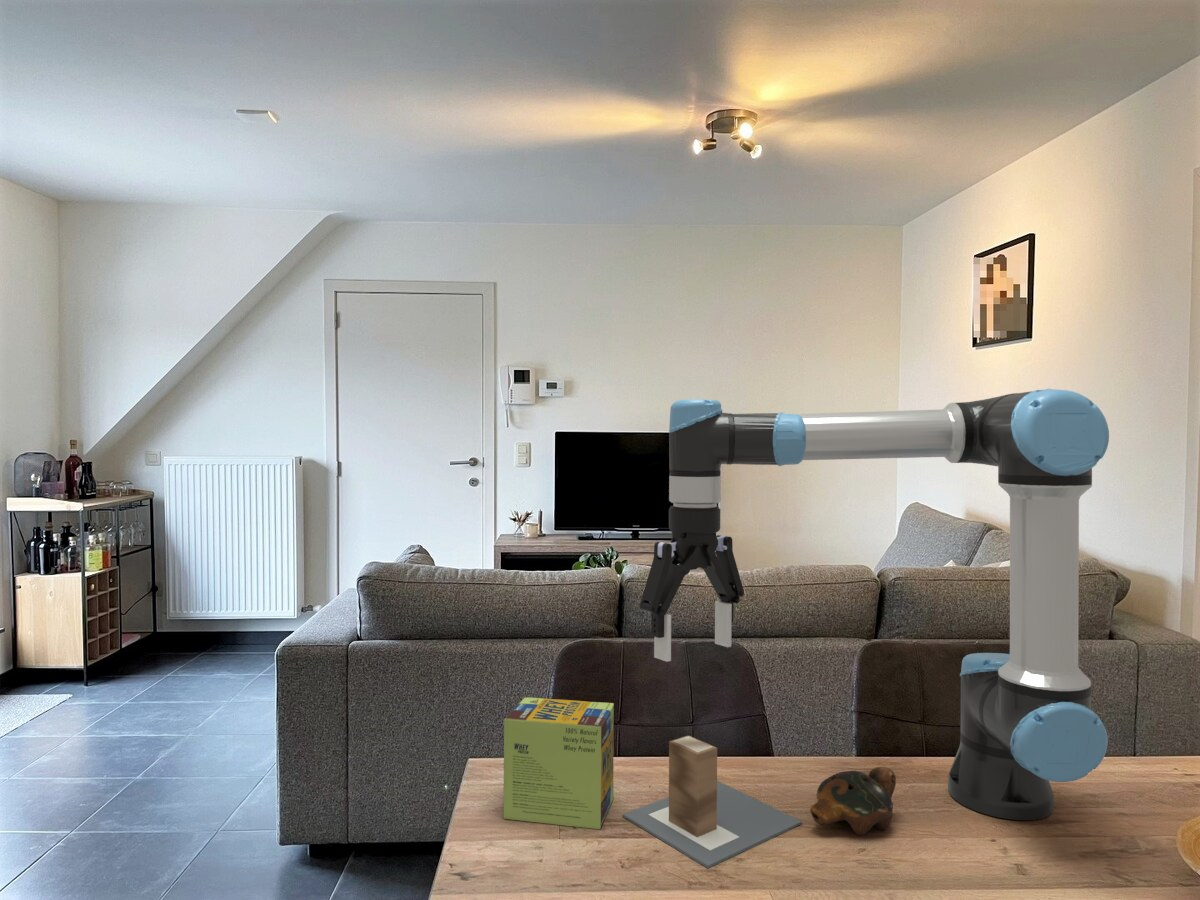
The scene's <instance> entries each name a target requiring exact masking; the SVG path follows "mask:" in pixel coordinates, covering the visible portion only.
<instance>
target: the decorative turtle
mask: <svg viewBox="0 0 1200 900" xmlns="http://www.w3.org/2000/svg"><path fill="white" fill-rule="evenodd" d="M896 783H897V777H896V774H895V772H894V770H893V769H891V768H890V767H886V766H876V767H874V768H873V769H871V770H870V772H869V774H866V773H863V772H861V771H857V770H848V771H847V770H846V771H841V772H838V773H835V774H833V775H830V776H829V777H827V778H826V779H824V780H823V781H822V782H821V783H820V784H819V786H818V787H817V790H816V800H817V801H816V802H815V803H814V804H813V805H811V806H810V809H809V812H810V814H811V817H812V819H813V820H814V822H815V823H816V824H818V825H820V826H827V825H830V824H834V823H838V822H840V821H846V822H847V823H848V824H849V825H850V827H851V829H852V830H853V832H854V833H855V834H856V835H857V836H861V837H862V836H864V835H865V834H866V833H868V832H869V831H870V830H871V828H873V826H875V828H877V829H878V830H880V831H885V830H887V829H888V828H889V826H890V823H891V820H892V815H893V809H894V807H893V806H894V805H893V804H894V803H893V801H892V796H893V795H894V792H895V788H896V785H897V784H896Z"/></svg>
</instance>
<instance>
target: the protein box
mask: <svg viewBox="0 0 1200 900" xmlns="http://www.w3.org/2000/svg"><path fill="white" fill-rule="evenodd" d="M614 705H615V703H613V702H601V701H600V702H599V701H598V702H597V701H583V700H572V699H555V698H554V699H553V698H540V697H523V698H522V700H521V701H519V703H518V704H517V705H516V706H515V708H513V709H512V711H510V713H509V714H507V715H506V717H505V718H504V719H503V737H504V738H503V804H502V805H503V809H502V815H503V816H502V817H503V820H512V821H519V822H520V821H521V822H529V823H539V824H547V825H554V826H555V825H558V826H567V827H573V828H577V827H578V828H587V829H594V830H601V829H602V827H603V824H604V822H605V819H606V817H607V815H608V812H609V811H610V808H611V806H612V803H613V801H614V793H615V792H614V788H615V786H614V781H615V780H614V771H615V770H614V722H615V721H614V717H615V716H614V713H615V712H614V711H615V710H614V709H615V708H614V707H615V706H614Z"/></svg>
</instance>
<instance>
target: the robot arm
mask: <svg viewBox="0 0 1200 900" xmlns="http://www.w3.org/2000/svg"><path fill="white" fill-rule="evenodd" d="M669 412H670V414H669V427H668V428H669V429H668V443H669V446H668V450H669V451H668V452H669V453H668V458H669V460H668V461H669V462H668V463H669V467H668V468H669V477H668V479H669V481H668V484H669V485H668V486H669V487H668V488H669V489H668V493H669V494H668V501H669V502H670V503H671V504H673V505H670V507H669V508H668V528H669V531H670V532H671V533H672V534H671V535H672V537H671V541H670V542H662V541H656V542H655V543H654V546H653V560H652V563H651V566H650V570H649V573H648V576H647V579H646V582H645V586H644V589H643V594H642V597H641V599H640V603H639V609H640V610H642V611H645V612H648V613H650V616H651V619H650V620H651V629H650V630H651V636H652V637H654V640H653V641H654V642H653V645H654V646H653V650H654V651H653V657H654V658H655V659H658V660H661V661H664V662H666V663H668V662H671V661H672V615H671V614H669V613H668V610H669V609H670V607H671V604H672V602H673V600H674V599H675V597H676V594H677V592H678V590H679V588H680V586H681V584H682V583H683V580H684V579H685V576H686V575H689V573H690V572H691V571H693V570H697V569H698V568H700V569H702V570H703V571H704V573H705V575H706V577H707V578H708V580H709V582H710V584H711V586H712V589H714V592H715V593H716V595H717V597H718V599H719V600H715V601H714V644H715V645H718V646H722V647H725V648H731V647H732V623H733V622H734V615H735V614H734V610H735V609H734V606H735V604H739V603H740V600H741V598H742V597H744V595H745V590H744V586H743V584H742V580H741V576H740V573H739V569H738V564H737V561H736V559H735V555H734V552H733V538H732V537H731V536H727V535H719V534H718V535H717V533H718V532H720V531H721V508H720V507H719V506H718V504H719V503H721V501H722V497H721V496H722V495H721V490H722V489H721V488H722V487H721V474H722V473H721V468H722V466H721V465H746V466H747V465H750V466H753V465H754V466H778V467H782V466H786V465H787V466H791V465H799V464H800V463H801V462H803V461H827V460H830V461H831V460H832V461H833V460H867V459H868V460H869V459H870V460H871V459H872V460H873V459H875V460H876V459H877V460H878V459H907V458H908V459H909V458H911V459H913V458H914V459H915V458H916V459H917V458H918V459H919V458H945V459H946V460H947V461H948V462H949V463H951V464H959V463H960V464H975V465H976V464H978V465H986V466H992V467H997V468H998V469H997V470H998V471H997V478H998V480H997V481H998V483H997V484H998V486H999V487H1000V488H1001V489H1002V490H1003V491H1005V493H1007V494H1008V496H1009V653H1003V652H1002V653H1001V652H975V653H974V652H973V653H969V654H966V655H965V656H964V657H963V658H962V660H961V667H960V670H961V671H960V673H959V677H960V740H959V741H960V743H959V747H958V749H957V750H956V755H955V757H954V760H953V762H952V764H951V767H950V769H949V772H948V775H947V776H948V777H947V783H948V784H947V792H948V793H949V795H950V796H951V798H952V799H954V800H955V801H956V802H958V803H959V804H960V805H962V806H965V807H966V808H969V809H971V810H972V811H976V812H978V813H979V814H980V813H981V814H983V815H987V816H992V817H996V818H999V819H1000V818H1001V819H1005V820H1015V821H1034V820H1041V819H1044V818H1047V817H1049V816H1050V815H1051V814H1052V813H1053V812H1054V807H1055V805H1054V803H1055V801H1054V800H1055V799H1054V798H1055V797H1054V791H1053V789H1052V788H1053V787H1052V786H1051V782H1054V783H1068V782H1074V781H1078V780H1081V779H1083V778H1085V777H1087V776H1088V774H1089V773H1091V772H1092V771H1093V770H1095V769H1097V768H1098V767H1099V766H1100V765H1101V763H1102V762H1103V760H1104V758H1105V756H1106V752H1107V749H1108V743H1109V739H1108V738H1109V737H1108V733H1107V729H1106V727H1105V725H1104V723H1103V722H1102V720H1101V719H1100V717H1099V715H1098V714H1097V713H1095V711H1094V710H1092V682H1091V679H1090V678H1089V677H1088V676H1087V675H1086V674H1085V673H1084V672H1083V671H1082V670H1081V669H1080V668H1079V615H1080V614H1079V610H1080V609H1079V606H1080V605H1079V599H1080V598H1079V595H1080V594H1079V590H1080V589H1079V586H1080V585H1079V583H1080V582H1079V581H1080V579H1079V578H1080V577H1079V575H1080V572H1079V571H1080V569H1079V565H1080V563H1079V562H1080V558H1079V556H1080V549H1079V548H1080V547H1079V546H1080V545H1079V543H1080V539H1079V538H1080V498H1081V497H1082V496H1083V495H1084V494H1085V493H1086V492H1087V491H1089V489H1091V488H1092V486H1093V468H1094V467H1095V466H1096V465H1097V463H1099V461H1100V460H1101V459H1103V458H1104V456H1105V454H1106V452H1107V449H1108V446H1109V442H1110V431H1109V425H1108V422H1107V419H1106V416H1104V413H1103V412H1102V410H1101V409H1100V408H1099V407H1098V406H1097V404H1095V403H1094V402H1093V401H1092V400H1090V399H1089V398H1088V397H1087V396H1085V395H1083V394H1080V393H1079V392H1076V391H1072V390H1066V389H1057V388H1056V389H1053V388H1045V389H1036V390H1033V391H1023V392H1015V393H1008V394H1004V395H999V396H995V397H990V398H984V399H979V400H973V401H965V402H964V401H963V402H950V403H948V404H947V405H946V406H945V407H944V408H943V409H918V410H917V409H915V410H912V409H911V410H885V411H882V410H881V411H880V410H879V411H855V412H853V411H852V412H827V413H825V412H824V413H823V412H822V413H821V412H820V413H786V412H785V413H784V412H777V413H775V412H767V413H766V412H765V413H764V412H763V413H760V412H759V413H729V412H723V409H722V404H721V402H720V401H719V400H717V399H704V398H703V399H702V398H701V399H699V398H696V399H692V398H691V399H678V400H675V401H674V402H673V403H672V404H671V405H670V409H669ZM740 597H741V598H740Z"/></svg>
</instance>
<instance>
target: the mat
mask: <svg viewBox="0 0 1200 900" xmlns="http://www.w3.org/2000/svg"><path fill="white" fill-rule="evenodd" d="M622 818H624V819H625V820H627V821H628V822H630V823H632V824H634V825H636V826H637V827H638V828H640V829H642V830H644V831H646V833H649V834H651V836H653V837H655V838H657V839H658V840H660V841H662V842H663V843H665V844H667V845H668V846H669V847H672V848H673V849H675V850H676V851H678V852H679V853H681V854H683V855H685V856H686V857H688V858H690V859H692V860H693V861H694V862H696V863H697V864H699V865H701V866H703V867H704V868H706V869H710V868H712V867H714V866H716V865H718V864H720V863H723V862H725V861H727V860H729V859H731V858H733V857H735V856H737V855H739V854H741V853H744V852H746V851H747V850H750V849H752V848H754V847H757V846H758V845H760V844H762V843H763V844H764V843H765V842H767V841H769V840H771V839H773V838H775V836H776V837H778V836H779V835H782V834H784V833H786V832H788V831H790V830H792V829H794V827H795V828H797V827H799V826H801V825H803V821H802V820H800V819H798V818H797V817H794V816H792V815H790V814H788V813H786V812H784V811H781V810H779V809H777V808H776V807H773V806H770V805H769V804H767V803H764V802H763V801H761V800H759V799H757V798H754V797H752V796H751V795H748V794H746V793H745V792H742V791H739V790H738V789H736V788H734V787H731V786H729V785H727V784H725V783H723V782H721V781H719V780H717V829H716V830H713V831H711V832H709V833H706V834H704V835H702V836H699V837H696V836H694V835H692V834H690V833H689V832H687V831H685V830H683V829H682V828H680V827H678V826H676V825H675V824H673V823H671V822H669V796H667V797H665V798H662V799H660V800H657V801H654V802H652V803H649V804H647V805H643V806H641V807H638V808H635V809H633V810H631V811H628V812H625V813H623V814H622ZM800 824H801V825H800ZM798 825H799V826H798ZM796 826H797V827H796Z"/></svg>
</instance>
